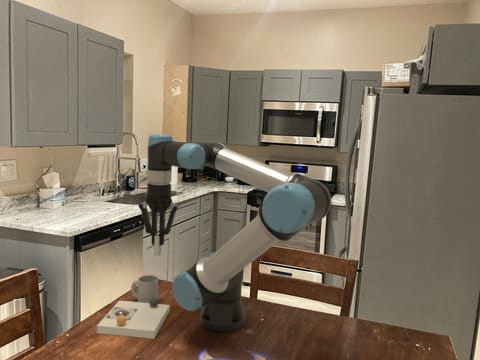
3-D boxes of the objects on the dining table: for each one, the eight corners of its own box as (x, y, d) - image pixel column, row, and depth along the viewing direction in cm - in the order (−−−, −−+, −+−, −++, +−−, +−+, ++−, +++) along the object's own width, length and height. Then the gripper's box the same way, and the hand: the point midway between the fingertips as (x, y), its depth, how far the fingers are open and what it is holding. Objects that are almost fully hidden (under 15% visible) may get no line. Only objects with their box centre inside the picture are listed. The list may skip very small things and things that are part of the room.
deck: (169, 311, 141) (169, 305, 140) (154, 338, 123) (154, 330, 122) (119, 307, 142) (119, 300, 142) (96, 333, 124) (96, 325, 124)
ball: (115, 314, 134) (125, 319, 135) (111, 320, 131) (121, 325, 131) (120, 306, 134) (129, 311, 134) (116, 311, 130) (125, 316, 130)
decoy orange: (128, 322, 127) (128, 313, 126) (124, 327, 124) (124, 318, 123) (118, 321, 127) (118, 312, 126) (114, 326, 124) (115, 317, 124)
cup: (153, 307, 143) (154, 283, 142) (126, 304, 145) (127, 280, 143) (160, 299, 150) (161, 276, 149) (135, 296, 152) (135, 273, 150)
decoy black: (159, 304, 140) (159, 296, 140) (156, 308, 137) (157, 300, 137) (150, 304, 140) (151, 295, 140) (148, 307, 137) (148, 299, 137)
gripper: (182, 182, 132) (179, 252, 135) (143, 180, 133) (141, 249, 136) (176, 186, 124) (174, 259, 128) (135, 183, 125) (134, 256, 129)
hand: (157, 254), depth 132 cm, fingers closed
